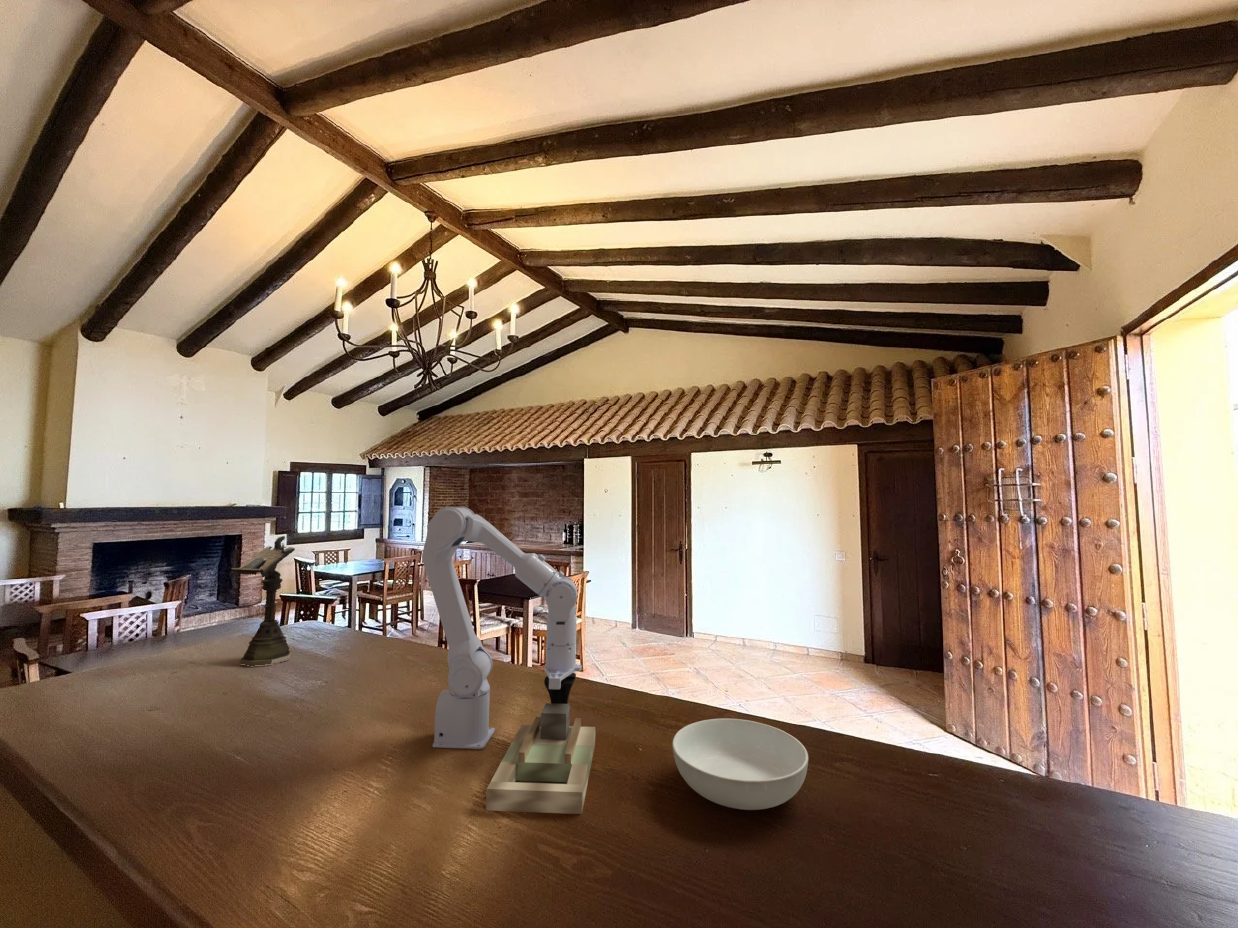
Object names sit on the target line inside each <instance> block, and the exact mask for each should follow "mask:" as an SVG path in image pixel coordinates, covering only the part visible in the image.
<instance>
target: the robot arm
mask: <svg viewBox="0 0 1238 928" xmlns="http://www.w3.org/2000/svg"><path fill="white" fill-rule="evenodd" d="M426 526H427V527H426V528H427V533H426V538H425V541H424V542H425V543H424V546H423V549H422V553H421V559H422V562H423V563H422V564H423V567H424V569H425V572H426V576H427V579H428V583H429V586H430V589H431V592H432V596H433V600H434V602H435V606H436V610H437V613H438V614H439V619H440V622H441V626H442V629H443V632H444V635H445V639H446V642H447V645H448V651H447V658H446V659H447V662H446V663H447V665H448V670H449V671H448V677H447V684H448V687H449V689H443V690H442V691H441V692H440V693H439V695H438V697H437V701H436V704H435V705H436V706H435V714H434V739H433V743H432V748H442V749H443V748H444V749H471V750H472V749H473V750H482V749H484V748H485V747H486V745H487V743H488V742H489V741H490V739H491V738H492V736H493V734H494V733H495V731H496V728H495V727H489V726H490V722H489V721H490V719H489V718H490V698H491V697H490V695H491V694H490V693H491V687H490V684H489V682H488V679H487V678H488V676H489V675H490V674H491V672H492V670H493V659H492V657H491V655H490V653H489V652H488V651H486V650H485V647H484V646H483V644H482V640H481V639H480V638H479V637H478V636H477V635H476V633H475V629H474V627H473V623H472V620H471V617H470V613H469V610H468V606H467V604H466V600H465V597H464V593H463V590H462V587H461V584H460V581H459V577H458V574H457V571H456V568H455V565H454V561H453V556H454V555H455V553H456V552H457V550H458V549H459V547H460V546H461V544H462V543H463V542H464V541H466V542H475V543H481V544H483V545H484V546H486V547H487V548H488V549H490V550H491V551H492V552H494V553H495V554H496V555H498V556H499V557H500V558H501V559H503V560H505V561H506V562H507V563H508V564H510V565H511V566H513V568H514V574H515V575H514V576H515V578H517V579H518V580H520V581H521V582H522V583H523V584H524V585H526V587H528V588H529V589H530V590H532V591H533V593H535V594H537V595H538V596H539V597H542V598H544V601H545V603H546V606H547V607H548V608H547V609H548V610H547V611H548V612H547V618H546V635H545V636H546V637H545V638H546V641H545V642H546V645H545V647H546V648H545V665H544V672H545V673H546V676H545V678H544V680H543V681H544V686H545V688H546V690H547V693H548V695H549V699H550V703H552V704H569V699H570V698H569V697H570V694H571V689H572V687H573V684H574V683H575V680H576V677H577V674H576V673H575V672H581V671H582V664H576V662H577V661H576V659H577V658H576V655H577V654H576V652H577V617H576V614H577V607H576V603H577V600H578V597H577V596H578V589H577V588H578V587H577V585H576V584H575V582H574V581H573V579H572V578H571V577H568V576H564V575H565V573H564V572H563V571H562V570H561V571H558V570H557V569H555V568H554V567H553V566H552V565H550V564H549V563H548V562H546V561H545V560H546V556H544V555H543V554H539V555H538V554H536V552H532V553H531V552H530V553H525V552H524V551H522V550H521V549H520V548H519V547H518V546H517V545H516V544H515V543H513V542H512V541H511V540H510V539H508V538H507V537H506V536H505V535H504V534H503V533H502V532H500V530H498V529H497V528H496V527H495V526H494V525H493V524H492V523H490V522H489V521H488V520H486V518H484V517H482V516H481V515H479V514H476V513H474V511H473V510H471V509H470V508H468V507H466V506H458V507H457V506H456V507H453V506H446V507H442V508H440V509H439V510H437V511H436V512H435V514H434V515H433V516H432V518H431V519H430V520H429V522H428V523H427V525H426Z"/></svg>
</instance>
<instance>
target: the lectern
mask: <svg viewBox="0 0 1238 928" xmlns="http://www.w3.org/2000/svg"><path fill="white" fill-rule="evenodd" d="M285 540H286V536H285V535H283V536H279V537H277V538H276V540H275V541H274V542H273V543H274V547H273V546H271V545H270V546H266V547H264V548H262V550H260V551H259V552H258V553H257V554H255V555H254V556H253V557H252V558H251V559H250V560H248V561H246V563H244V564H243V565H241V566H240V567H232V568H230V571H231V573H229V576H230V577H231V576H232V575H233V574H235V573H237V574H238V575H246V576H248V575H250V576H253V575H254V576H257V574H258V573H260V575H261V577H262V578H264V579H262V580H261V581H260V582H261V584H262V586H261V590H263V591H265V594H266V595H265V605H263V607H264V609H265V610H264V619H263V621H261V622H260V623H259V625H258V626H259V627H258V629H257V630H256V633H255V634H254V636H252V637H251V640H250V641H248V644H249V645H248V646H247V649H246V651H245V653H244V654H243V656H242V658H241V659H240V664H245V665H249V666H255V665H265V664H271V663H274V662H277V661H280V660H283V659H287V658H289V657H290V655H291V654H292V653H293V651H291V650H290V646H289V645H288V642H287V637H286V636H284V635H285V633H283V631H282V629H281V627H280V625H279V623H280V622H279V621H278V620H277V619H276V618H275V609H276V607H277V603H276V597H277V596H276V595H277V592H278V591H277V590H280V589H281V587H282V585H281V583H282V582H283V581H284V580H283V579H282V578H281V576H282V575H281V573H280V572H279V571H277V570H276V569H277V566H278V564H279V563H280V562H281V561H283V560H284V559H285V558H287V557H289V555H290V554H292V553H293V552H294V551H295V549H296V548H295V547H292V546H288V547H287V546H285V544H284V543H282V542H283V541H285ZM240 664H239V665H240Z"/></svg>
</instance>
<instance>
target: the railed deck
mask: <svg viewBox="0 0 1238 928" xmlns="http://www.w3.org/2000/svg"><path fill="white" fill-rule="evenodd" d="M595 746H596V726H582V718H580V717H579V718H578V717H575V718H574V723H573V725H572V726H571V725H569V732H568V735H567V738H566V740H546V739H541V716H536V717H535V719H534V721H533V723H532V724H520V727H519V729H518V731H517V733H515V736H514V738H513V740H512V741H511V743H510V745H509V747H508V749H507V750H506V752H505V754H504V756H503V758H502V760H501V762H500V764H499V765H498V767H497V769H496V771H495V773H494V775H493V777H492V779H491V781H490V782H489V784H488V786H487V788H486V801H485V811H492V812H493V811H494V812H515V813H518V812H519V813H520V812H521V813H543V814H544V813H545V814H548V813H549V814H571V815H582V814H583V809H584V804H585V799H586V794H587V789H588V788H587V787H588V784H589V783H588V782H589V777H590V773H591V772H590V771H591V769H592V768H591V767H592V761H593V757H594V752H595Z"/></svg>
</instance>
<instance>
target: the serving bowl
mask: <svg viewBox="0 0 1238 928" xmlns="http://www.w3.org/2000/svg"><path fill="white" fill-rule="evenodd" d="M671 744H672V752H673V757H674V761H675V764H676V768H677V769H678V772H679V774H680V776H681V777H682V778H683V779H684V781H685V783H686V784H687V785H688V787H690V788H691V789H693V791H695V793H697V794H699V796H700V797H701V796H702V797H703V798H705V799H707V800H709V801H711V802H713V803H715V804H718V805H720V806H723V807H727V808H731V809H738V810H744V811H745V810H746V811H755V810H756V811H758V810H766V809H767V810H768V809H769V808H770V809H771V808H774V807H778V806H780V805H783V804H784V803H786V802H788V801H789V800H791V799H792V798H793V797H794V796H795V795H796V794H797V793H798V791H799V790H800V789H801V787H802V785H804V784H803V783H804V782H805V779H806V776H807V773H808V772H807V771H808V766H809V753H808V750H807V749H806V747H805V746H804V745H803V743H802V742H800V740H798V739H797V737H794V736H793V735H791V734H789V733H788V732H786V731H784V730H782V729H780V728H778V727H774V726H771V725H769V724H765V723H762V722H759V721H758V722H757V721H753V720H748V719H741V718H740V719H739V718H728V717H727V718H711V719H703V720H700V721H695V722H693V723H689V724H687V725H685V726H684V727H682V728H681V729H679V730H678V731H677V732H676V733H675V734H674V737H673V739H672V743H671Z"/></svg>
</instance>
